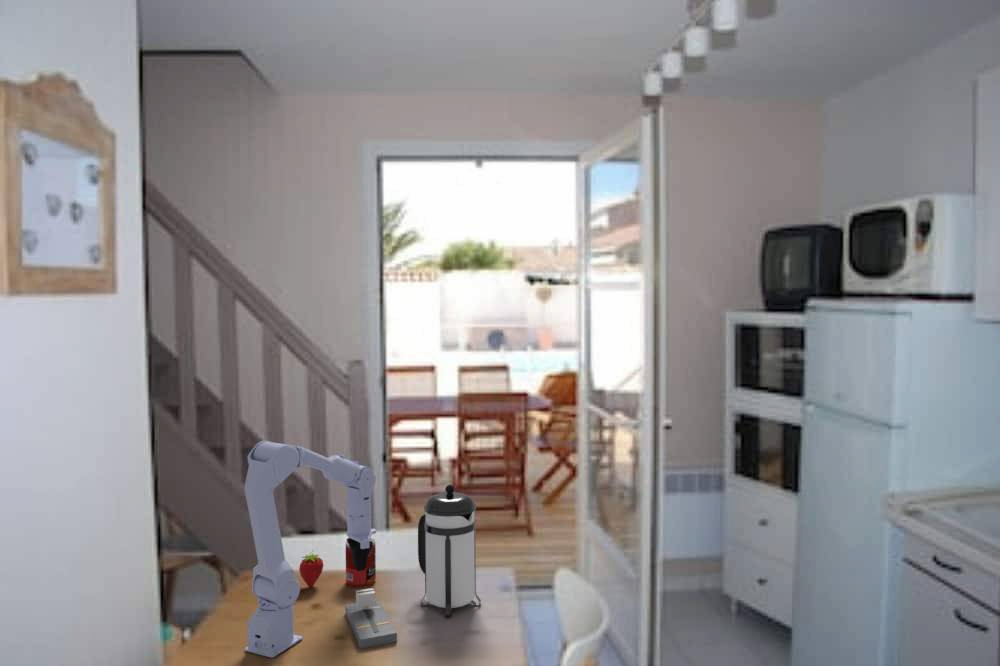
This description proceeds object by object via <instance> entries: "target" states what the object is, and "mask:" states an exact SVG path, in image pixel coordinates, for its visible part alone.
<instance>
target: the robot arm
mask: <svg viewBox="0 0 1000 666" xmlns="http://www.w3.org/2000/svg"><path fill="white" fill-rule="evenodd" d="M246 457H247V463H248V469H247V472H246V478H245V481H244V482H245V483H244V493H245V500H246V503H247V505H246V506H247V508H248V515H249V519H250V525H251V530H252V537H253V540H254V541H253V542H254V547H255V552H256V557H257V565H255V566H254V568H253V569H252V573H253V578H252V583H251V590H252V591H251V592H252V594H253V595H254V596H255V597H257V603H258V606H257V609H256V610H255V612H254V613H252V615H250V616H249V618H248V621H247V623H246V624H247V625H246V626H247V628H246V629H247V632H246V634H247V646H246V647H245V648H244V651H245V652H249V653H253V654H256V655H259V656H263V657H266V658H275V657H277V656H279V654H281V653H283V652H285V651H286V650H287V649H289V648H291V647H292V646H294V645H295V644H297V643H298V642H300V641H301V640H303V636H302V635H297V634H295V633H294V631H295V630H294V629H295V627H294V625H295V622H294V605H295V602H296V600H297V599H298V597H299V595H300V593H301V584H300V581H299V579H298V578H297V576H296V575H295V573H294V569H293V567H292V565H290V563H289V562H288V561H287V559H286V558H285V557H286V556H285V551H284V546H283V541H282V534H281V529H280V523H279V519H278V513H277V507H276V502H275V497H274V490H275V489H276V488H277V487H278V486H279V485H280V484H281V483H282V482H284V481H285V480H286V479H287V478H288V477H289V476H290V475H291V474H292V473H293V472H294V471H296V469H297V468H298V469H300V468H301V467H303V466H305V467H309V468H310V469H311V468H312V469H315V470H317V471H321V472H322V475H323V477H324V478H325V479H327V480H329V481H332V482H335V483H338V484H341V485H343V486H344V487H345V488H346V497H347V499H346V500H347V501H346V503H347V505H346V508H347V510H346V511H347V512H346V513H347V522H346V523H347V531H346V536H347V538H346V540H345V541H347V542H348V544H349V546H350V549H351V553H352V558H353V563H354V567H355V568H356V571H362V570H365V568H366V564H367V559H368V555H369V552H370V550H371V548H372V546H373V542H372V541H369V540H370V538H371V537H372V535H375V534H377V530H376V528H372V494H373V488H374V486H375V483H376V481H377V475H375V472H374V471H373V469H372V468H371V467H370V466H365V465H360V464H359V461H357V460H350V459H347V458H346V456H345V455H343V454H340V453H339V454H337V455H336V454H334V455H331V456H329V457H326V456H324V455H323V454H320V453H317V452H315V451H312V450H310V449H309V448H306V447H302V446H298V445H297V446H296V445H292V444H285V443H280V442H279V443H278V442H271V441H270V440H262V441H259V442H258V443H256V444H255V445H254V446H253V448H252V449H251V451H250V452H249V454H247V456H246Z"/></svg>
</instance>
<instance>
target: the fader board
mask: <svg viewBox="0 0 1000 666" xmlns="http://www.w3.org/2000/svg"><path fill="white" fill-rule="evenodd" d="M345 615H346V618H347V620H348V622H349V625H350V628H351V629H352V632H353V633H354V634H353V635H354V636H355V639H356V641H357V644H358V646H359V648H360V650H361V649H367V648H373V647H378V646H382V645H389V644H393V643H398V633H397V630H396V629H395V627H394V625H393V623H392V622H391V620H390V618H389V616H388V614H387V612H386V610H385V609H384V607H383V606H382V603H381V602H380V600H379V599H375V606H369V609H366V610H364V609H363V608H358V606H357V604H356V602H355V603H351V604H345Z"/></svg>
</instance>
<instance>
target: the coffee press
mask: <svg viewBox="0 0 1000 666" xmlns="http://www.w3.org/2000/svg"><path fill="white" fill-rule="evenodd" d="M444 490H445V492H439V493H437V494H434V495H432V496H430V497H429V498H428V499H427V501H426V502H425V504H424V505H423V511H424V513H425V514H422V516H420V518H419V521H418V525H417V555H418V556H417V557H418V558H417V559H418V564H419V567H420V570H421V572H422V573H423V574H424V587H425V588H424V596H422V598H421V600H420V605H421V607H426V606H427V605H428V604H431V605H433V606H435V607H438V608H443V609H445V611H444V618H452V611H453V609H454V608H455V609H456V608H461V607H464V606H467V605H468V604H470V603H471V604H473V606H475V607H477V606H476V603H477V602H476V601H475V600H474V597H475V598H476V600H478V602H479V603H478V604H479V606H478V607H480V606H481V603H482V600H481V599H480V597H479V596H478V594H477V576H476V575H477V573H476V572H477V565H476V564H477V563H476V562H477V561H476V559H477V557H476V555H477V554H476V549H477V548H476V541H477V540H476V518H475V511H476V510H477V504H476V503H475V502H474V499H473V498H472V497H471V496H470V495H468V494H465V493H462V492H455V491H456V490H455V486H453V485H452V484H447V485H446V486H445V489H444ZM425 597H426V599H427V602H426V603H424V602H422V601H423V600H425Z"/></svg>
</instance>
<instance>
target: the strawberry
mask: <svg viewBox="0 0 1000 666" xmlns="http://www.w3.org/2000/svg"><path fill="white" fill-rule="evenodd" d="M313 552H314V550H312V551H311V552H310V553H309V555H307V554H306V555H305V556H301V558H303V559H302V560H301V562H300V565H299V573H300V577H301V578H302V580H303V581H304V582H305V584H306V585H307V587H309V588H312V587H314V585H315V583H316V582H317V581H318V580H319V577H320V575H322V572H323V569H324V560H323V559H322V558H321V557H318V556H320V554H314V553H313Z"/></svg>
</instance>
